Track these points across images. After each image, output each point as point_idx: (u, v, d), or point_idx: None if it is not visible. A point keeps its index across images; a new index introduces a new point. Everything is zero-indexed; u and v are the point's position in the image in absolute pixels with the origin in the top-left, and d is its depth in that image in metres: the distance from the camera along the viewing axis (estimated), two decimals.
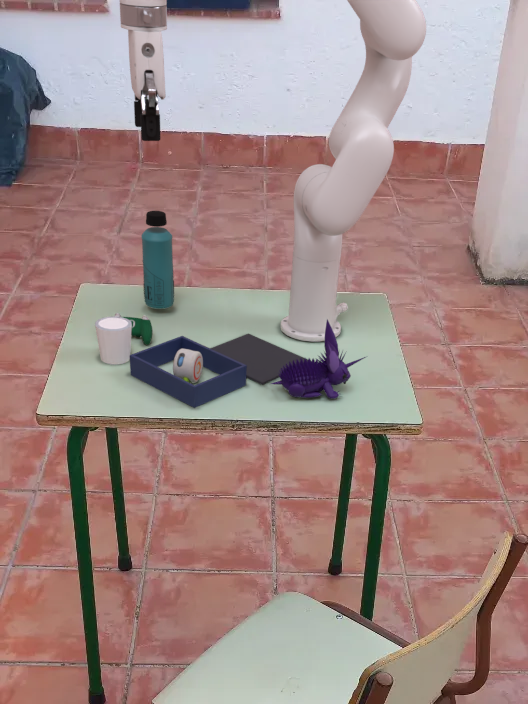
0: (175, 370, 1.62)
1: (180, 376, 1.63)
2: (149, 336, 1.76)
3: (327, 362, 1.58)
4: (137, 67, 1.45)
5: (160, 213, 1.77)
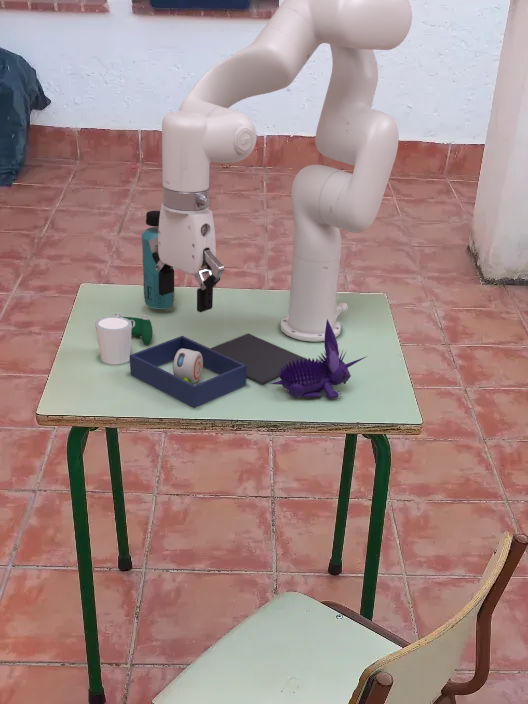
0: (175, 370, 1.62)
1: (180, 376, 1.63)
2: (149, 336, 1.76)
3: (327, 362, 1.58)
4: (197, 248, 1.46)
5: None
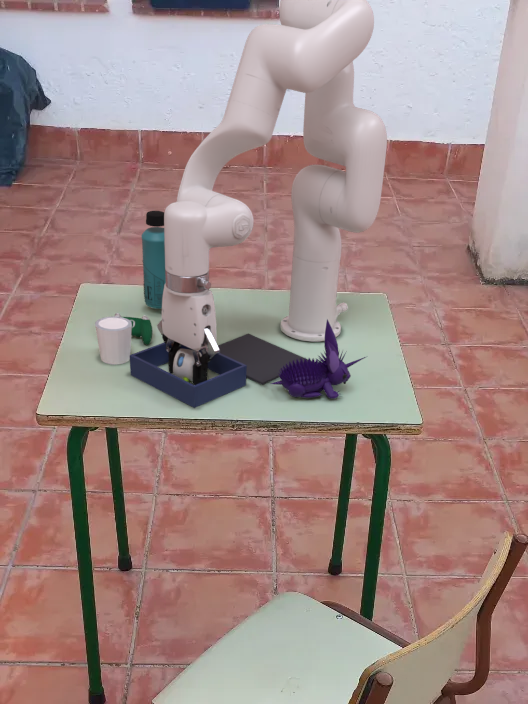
0: (175, 370, 1.62)
1: (180, 376, 1.63)
2: (149, 336, 1.76)
3: (327, 362, 1.58)
4: (199, 327, 1.55)
5: (160, 213, 1.77)
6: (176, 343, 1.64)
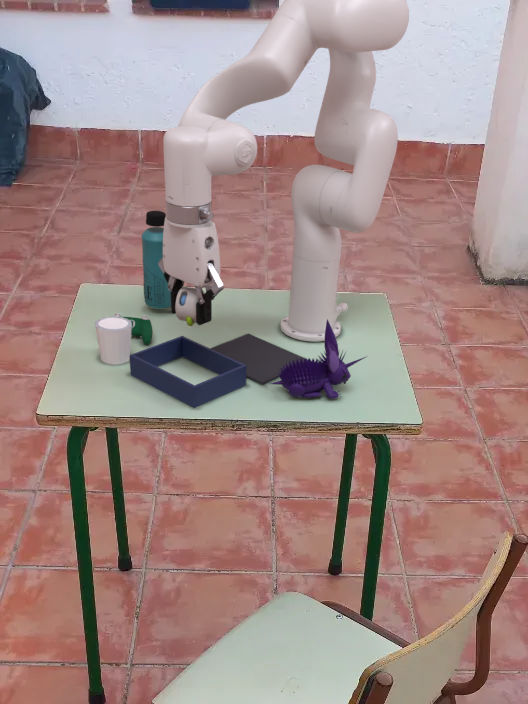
0: (177, 309, 1.56)
1: (183, 316, 1.56)
2: (149, 336, 1.76)
3: (327, 362, 1.58)
4: (201, 261, 1.48)
5: (160, 213, 1.77)
6: (178, 281, 1.58)
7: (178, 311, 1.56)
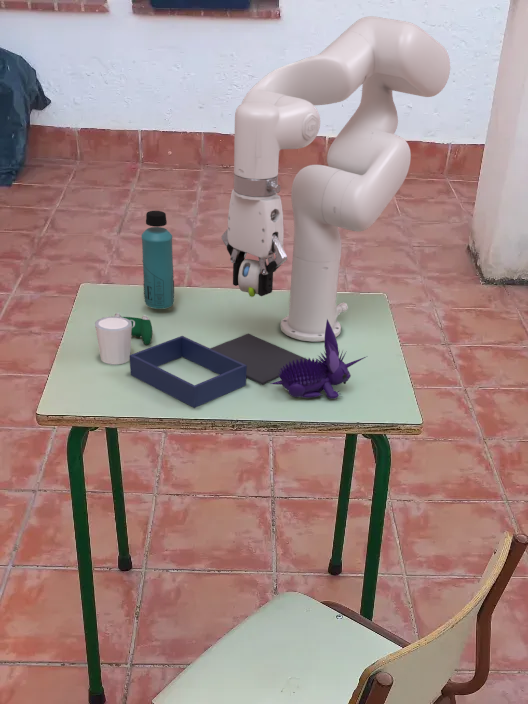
0: (240, 280, 1.61)
1: (245, 286, 1.62)
2: (149, 336, 1.76)
3: (327, 362, 1.58)
4: (267, 232, 1.54)
5: (160, 213, 1.77)
6: (241, 254, 1.64)
7: (241, 282, 1.62)
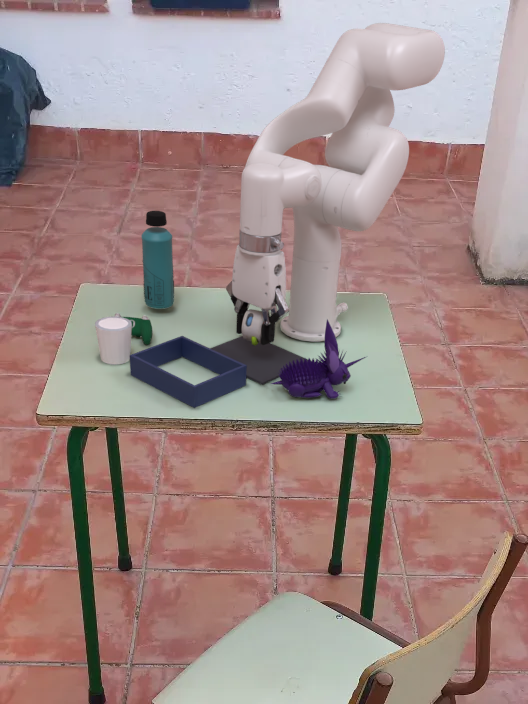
0: (243, 329, 1.68)
1: (248, 335, 1.69)
2: (149, 336, 1.76)
3: (327, 362, 1.58)
4: (270, 286, 1.61)
5: (160, 213, 1.77)
6: (244, 304, 1.70)
7: (244, 331, 1.68)
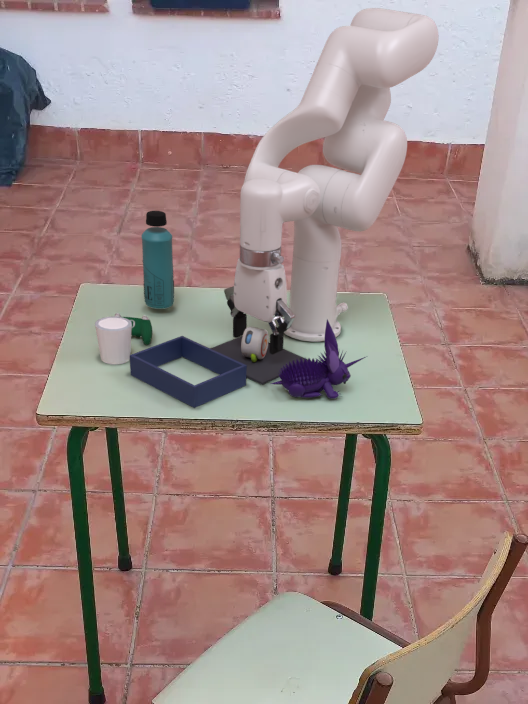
0: (243, 347, 1.70)
1: (248, 353, 1.71)
2: (149, 336, 1.76)
3: (327, 362, 1.58)
4: (271, 299, 1.63)
5: (160, 213, 1.77)
6: None
7: (244, 348, 1.70)
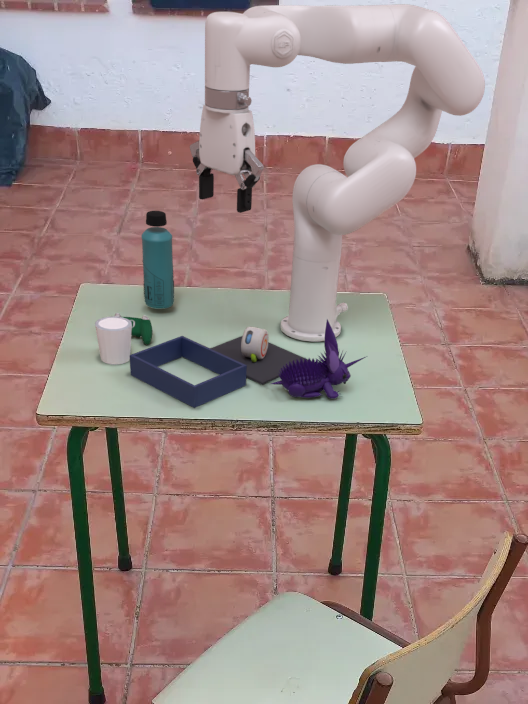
0: (243, 347, 1.70)
1: (248, 353, 1.71)
2: (149, 336, 1.76)
3: (327, 362, 1.58)
4: (238, 147, 1.53)
5: (160, 213, 1.77)
6: (207, 168, 1.63)
7: (244, 348, 1.70)
